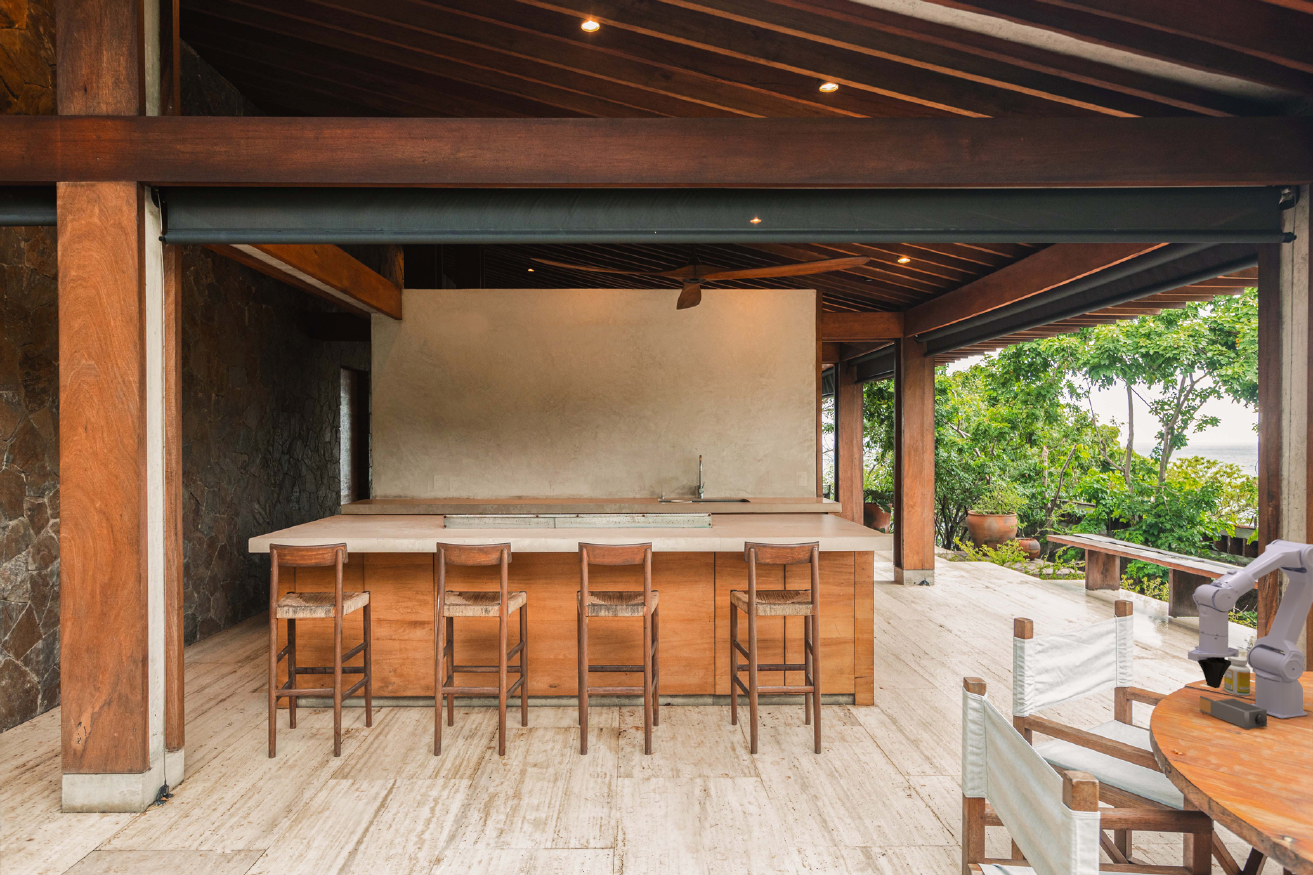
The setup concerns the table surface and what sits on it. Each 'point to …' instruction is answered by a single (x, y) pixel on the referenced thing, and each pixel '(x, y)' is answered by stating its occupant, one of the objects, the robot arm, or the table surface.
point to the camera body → (1255, 713)
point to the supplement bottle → (1237, 677)
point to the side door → (1224, 712)
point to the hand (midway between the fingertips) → (1213, 686)
